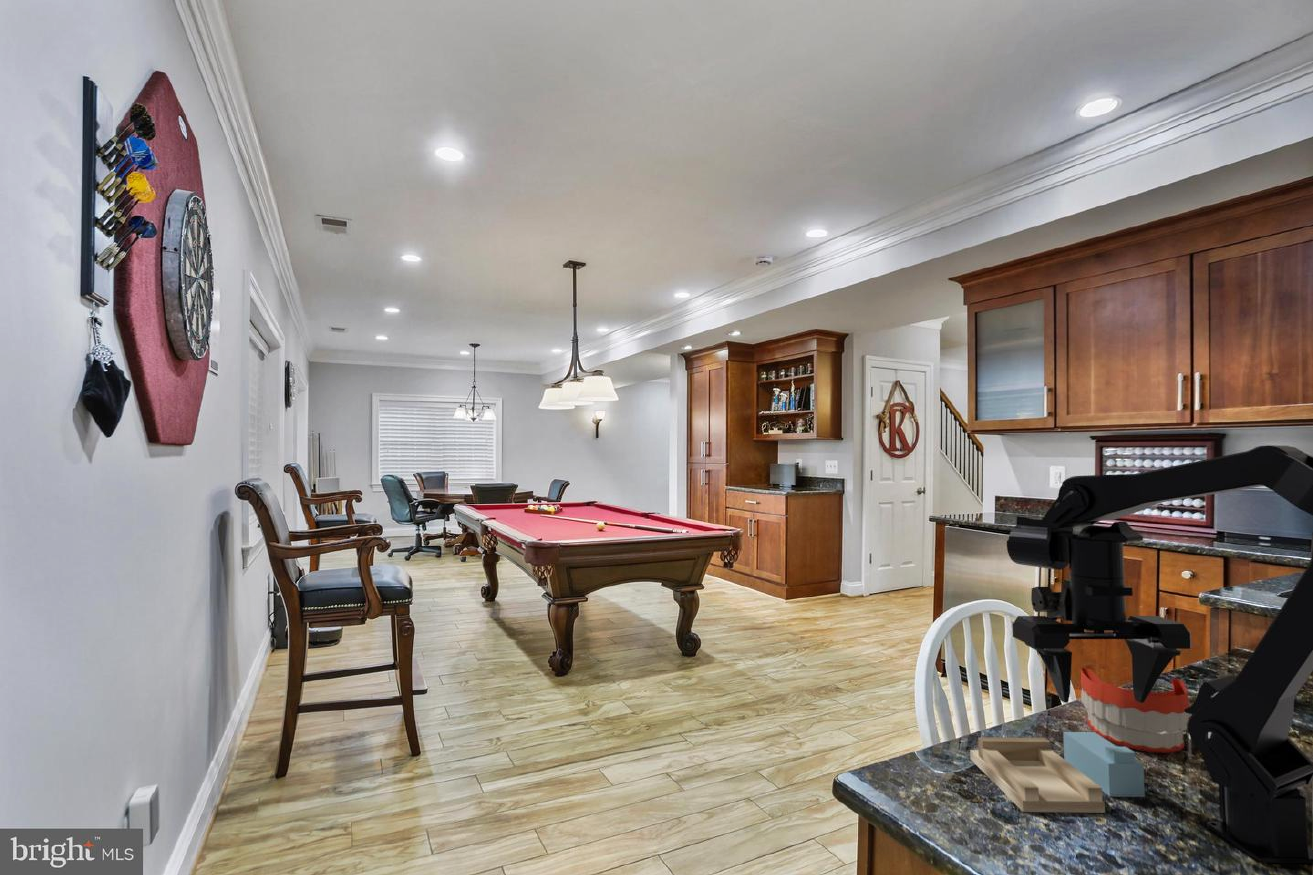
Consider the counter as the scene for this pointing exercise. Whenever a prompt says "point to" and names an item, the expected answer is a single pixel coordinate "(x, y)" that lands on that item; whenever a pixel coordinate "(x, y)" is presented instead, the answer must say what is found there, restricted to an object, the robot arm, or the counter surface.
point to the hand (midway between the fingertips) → (1101, 701)
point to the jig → (1036, 776)
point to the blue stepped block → (1105, 764)
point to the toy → (1136, 715)
